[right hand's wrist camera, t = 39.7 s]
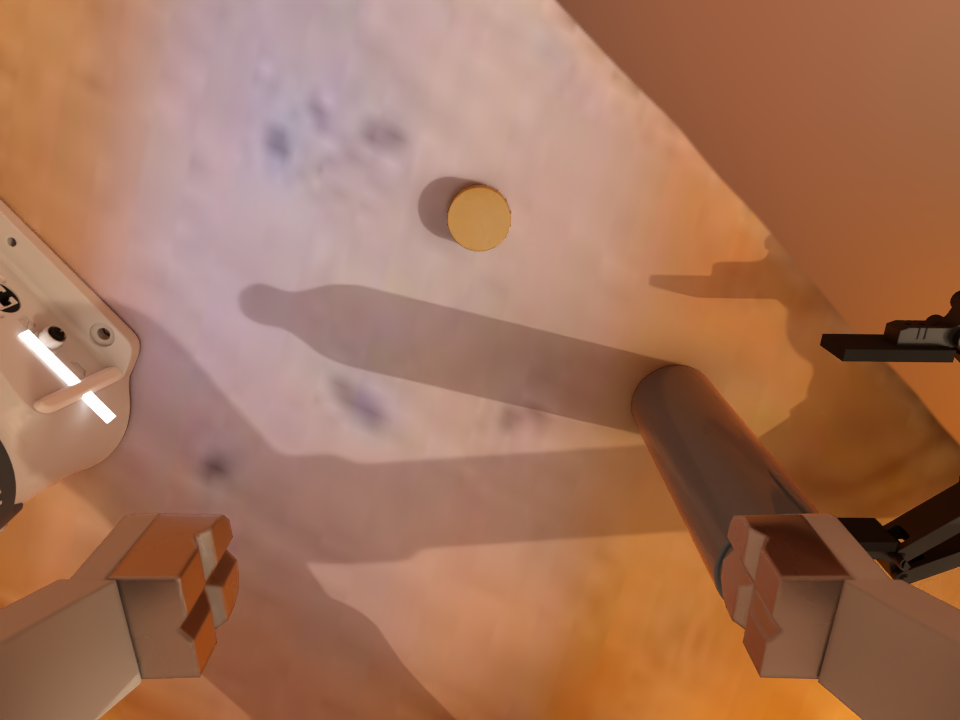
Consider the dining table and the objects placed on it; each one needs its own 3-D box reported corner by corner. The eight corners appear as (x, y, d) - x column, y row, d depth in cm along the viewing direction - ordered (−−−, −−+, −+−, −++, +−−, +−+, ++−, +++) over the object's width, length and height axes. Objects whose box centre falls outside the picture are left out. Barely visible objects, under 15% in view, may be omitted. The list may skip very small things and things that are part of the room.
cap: (448, 183, 42) (447, 186, 40) (511, 184, 42) (512, 187, 40) (448, 246, 43) (447, 251, 42) (509, 247, 43) (510, 252, 42)
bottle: (726, 373, 46) (937, 603, 25) (699, 446, 49) (872, 714, 27) (644, 358, 46) (788, 578, 25) (621, 432, 48) (734, 694, 27)
